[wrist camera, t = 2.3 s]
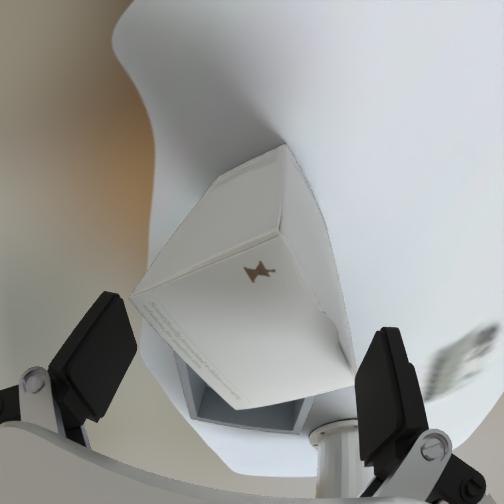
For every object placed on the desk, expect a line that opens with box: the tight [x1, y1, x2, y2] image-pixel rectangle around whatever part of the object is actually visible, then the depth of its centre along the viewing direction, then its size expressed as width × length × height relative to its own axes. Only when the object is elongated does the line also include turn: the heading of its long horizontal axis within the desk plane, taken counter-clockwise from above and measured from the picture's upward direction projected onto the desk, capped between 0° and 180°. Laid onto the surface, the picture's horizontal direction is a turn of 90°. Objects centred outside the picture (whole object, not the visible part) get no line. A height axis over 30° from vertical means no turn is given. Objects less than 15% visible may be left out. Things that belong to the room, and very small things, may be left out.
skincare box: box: [129, 144, 357, 410], centre depth 17 cm, size 8×7×16 cm
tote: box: [174, 351, 316, 434], centre depth 30 cm, size 18×14×6 cm
